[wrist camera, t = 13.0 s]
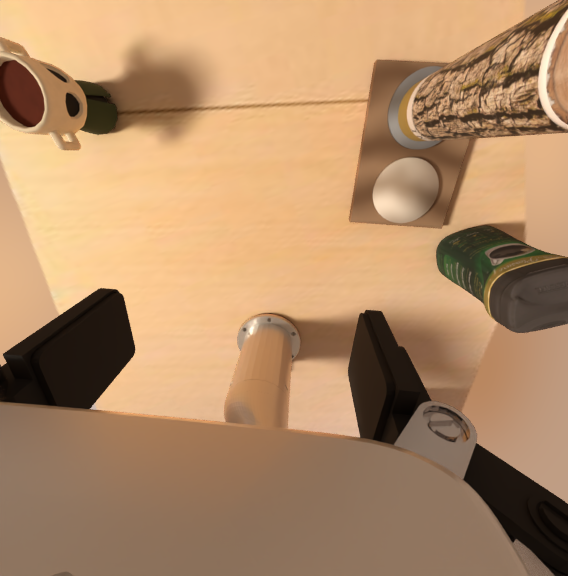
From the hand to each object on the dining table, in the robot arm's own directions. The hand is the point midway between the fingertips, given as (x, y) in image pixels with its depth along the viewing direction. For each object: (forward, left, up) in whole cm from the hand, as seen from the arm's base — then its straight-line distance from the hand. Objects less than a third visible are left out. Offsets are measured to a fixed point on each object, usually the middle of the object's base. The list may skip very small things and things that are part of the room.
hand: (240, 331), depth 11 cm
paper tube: (+12, -17, -34) cm, 40 cm away
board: (+7, -17, -36) cm, 41 cm away
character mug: (+10, +28, -36) cm, 47 cm away
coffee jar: (-7, -30, -36) cm, 47 cm away
